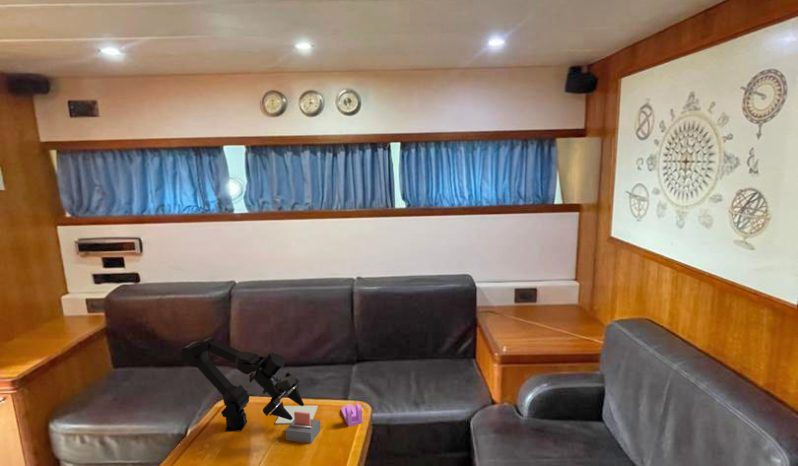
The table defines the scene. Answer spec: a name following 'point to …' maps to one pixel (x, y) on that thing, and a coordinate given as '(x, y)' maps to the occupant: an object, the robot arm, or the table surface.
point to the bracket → (355, 416)
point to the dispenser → (303, 431)
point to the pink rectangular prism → (302, 418)
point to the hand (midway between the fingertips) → (297, 412)
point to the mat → (298, 409)
